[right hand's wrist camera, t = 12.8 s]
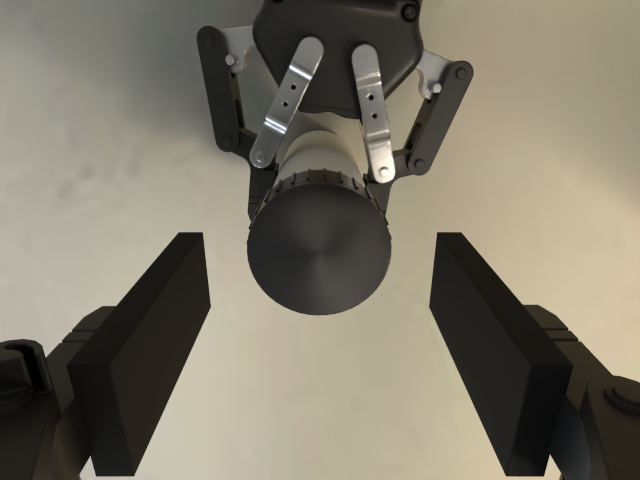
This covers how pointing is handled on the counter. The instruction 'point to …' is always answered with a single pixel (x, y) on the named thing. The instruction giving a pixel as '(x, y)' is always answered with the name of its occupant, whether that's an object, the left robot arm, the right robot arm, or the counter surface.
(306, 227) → the lid
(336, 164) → the jar
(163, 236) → the counter surface
